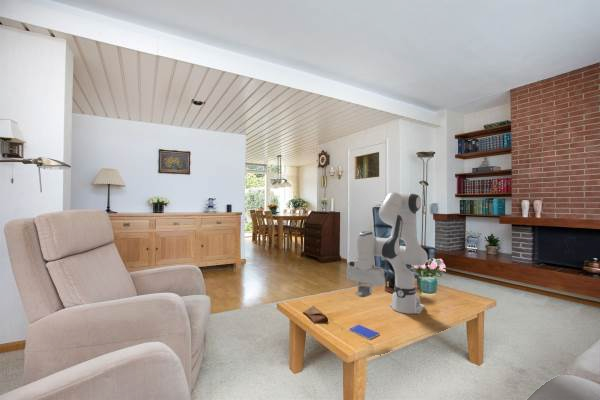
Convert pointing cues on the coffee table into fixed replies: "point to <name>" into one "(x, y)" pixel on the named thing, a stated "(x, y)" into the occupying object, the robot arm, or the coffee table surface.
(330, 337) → the coffee table surface
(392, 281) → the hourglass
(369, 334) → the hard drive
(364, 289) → the plug
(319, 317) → the sunglasses case
